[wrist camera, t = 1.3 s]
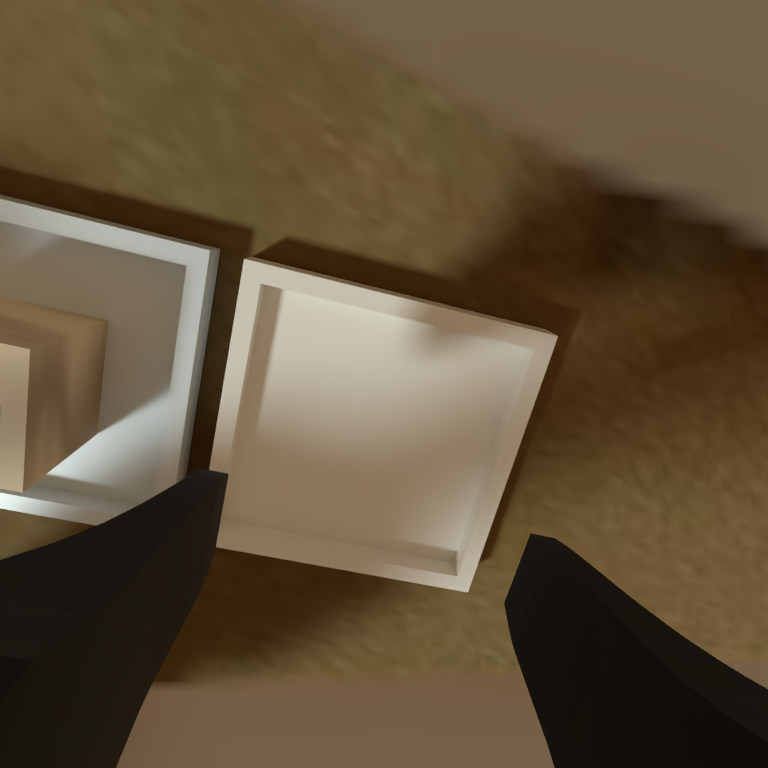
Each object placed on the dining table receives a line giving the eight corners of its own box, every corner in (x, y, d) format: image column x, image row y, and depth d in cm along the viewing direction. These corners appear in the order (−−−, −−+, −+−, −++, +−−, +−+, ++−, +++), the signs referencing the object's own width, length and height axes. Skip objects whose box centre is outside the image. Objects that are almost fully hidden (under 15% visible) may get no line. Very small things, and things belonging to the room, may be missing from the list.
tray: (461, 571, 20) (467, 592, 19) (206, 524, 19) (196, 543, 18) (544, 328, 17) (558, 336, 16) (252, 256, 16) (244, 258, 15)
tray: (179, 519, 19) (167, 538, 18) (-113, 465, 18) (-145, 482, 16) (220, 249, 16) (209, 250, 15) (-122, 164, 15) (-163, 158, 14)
